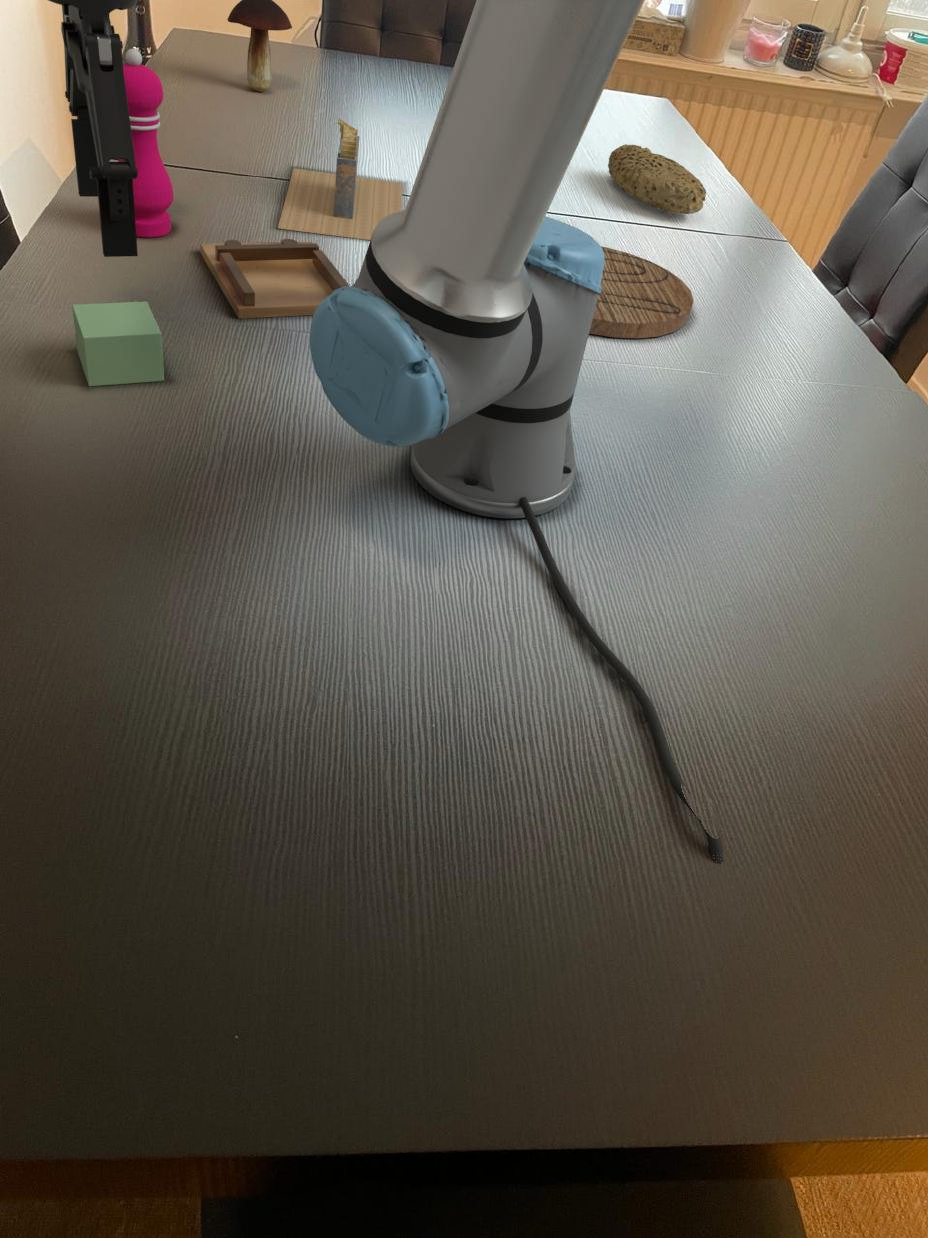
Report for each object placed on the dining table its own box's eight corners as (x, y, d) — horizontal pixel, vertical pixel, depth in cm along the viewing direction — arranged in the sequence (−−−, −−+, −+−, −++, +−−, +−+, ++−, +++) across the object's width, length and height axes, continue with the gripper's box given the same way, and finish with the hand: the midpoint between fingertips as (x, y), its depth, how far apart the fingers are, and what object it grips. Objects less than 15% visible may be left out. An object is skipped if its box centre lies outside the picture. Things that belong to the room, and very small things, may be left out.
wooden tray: (358, 312, 114) (360, 290, 112) (238, 318, 108) (238, 295, 107) (311, 250, 126) (311, 229, 124) (200, 253, 120) (199, 230, 118)
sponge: (594, 184, 167) (629, 199, 150) (610, 135, 164) (649, 145, 147) (662, 207, 171) (705, 225, 154) (680, 160, 167) (725, 172, 150)
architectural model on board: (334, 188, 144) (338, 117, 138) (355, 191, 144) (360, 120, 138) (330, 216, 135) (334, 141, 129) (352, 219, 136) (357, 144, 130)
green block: (164, 381, 96) (161, 333, 93) (88, 386, 93) (83, 337, 90) (150, 347, 101) (146, 300, 97) (77, 352, 98) (71, 304, 95)
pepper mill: (160, 244, 120) (149, 61, 107) (103, 231, 121) (86, 47, 108) (184, 225, 126) (177, 49, 113) (130, 213, 126) (117, 36, 113)
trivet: (710, 347, 120) (715, 333, 119) (510, 325, 117) (512, 310, 115) (665, 267, 139) (669, 253, 138) (491, 245, 135) (493, 232, 134)
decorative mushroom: (216, 83, 176) (214, -15, 167) (268, 80, 183) (269, -14, 173) (251, 101, 171) (251, 1, 161) (303, 98, 177) (306, 1, 168)
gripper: (11, -97, 81) (43, 172, 95) (51, -28, 65) (84, 284, 78) (107, -86, 84) (125, 173, 98) (168, -17, 68) (179, 281, 81)
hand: (106, 223), depth 88 cm, fingers open, 13 cm apart
